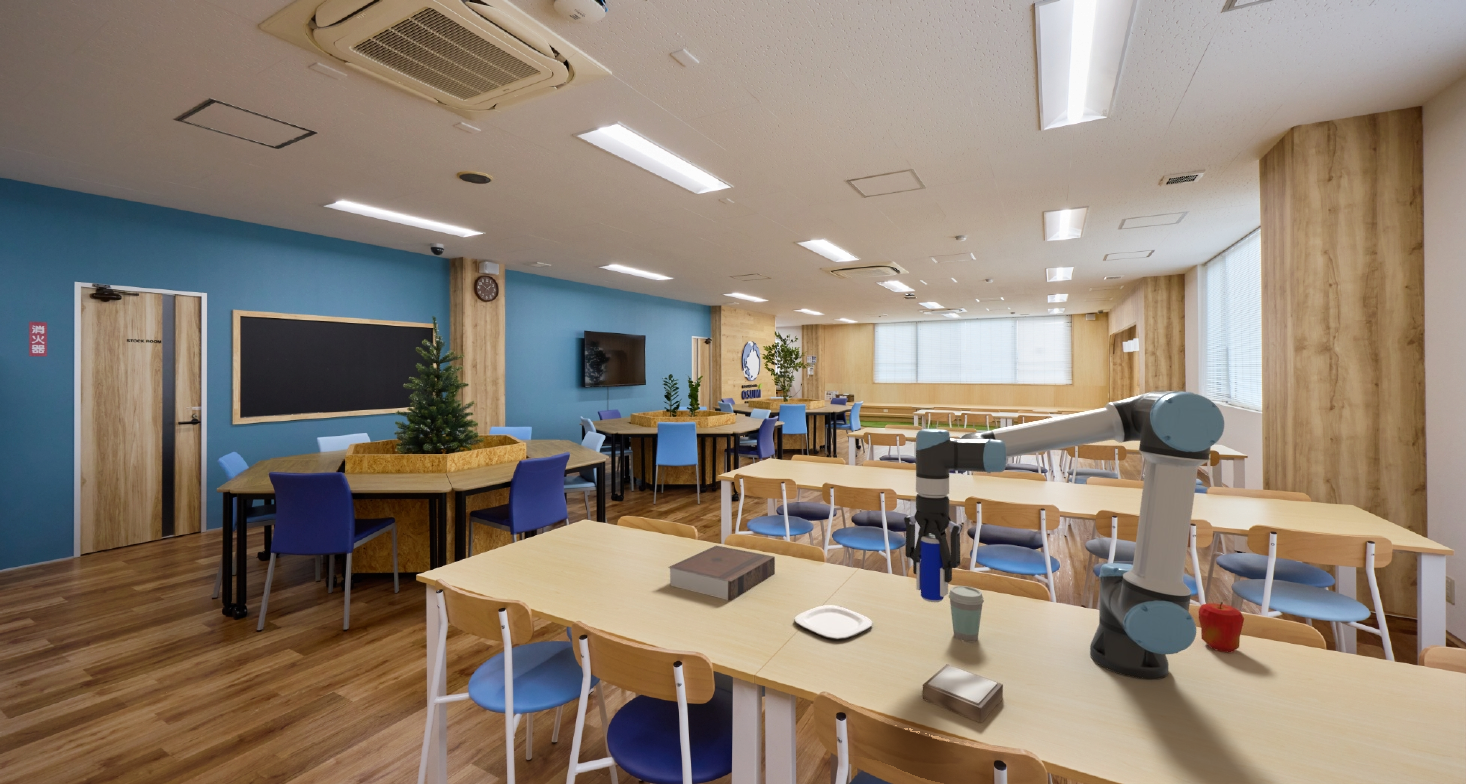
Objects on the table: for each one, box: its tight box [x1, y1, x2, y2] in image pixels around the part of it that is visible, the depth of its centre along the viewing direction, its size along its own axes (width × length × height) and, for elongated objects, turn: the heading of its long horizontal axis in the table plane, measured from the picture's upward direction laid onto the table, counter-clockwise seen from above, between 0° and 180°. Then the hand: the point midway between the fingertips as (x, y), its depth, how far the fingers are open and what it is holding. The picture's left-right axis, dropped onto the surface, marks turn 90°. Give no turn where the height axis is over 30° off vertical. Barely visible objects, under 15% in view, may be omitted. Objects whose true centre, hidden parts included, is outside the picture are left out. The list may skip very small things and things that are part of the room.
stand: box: [921, 664, 1004, 724], centre depth 118 cm, size 12×12×3 cm
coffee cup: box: [948, 585, 985, 643], centre depth 146 cm, size 8×9×12 cm
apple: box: [1198, 601, 1245, 653], centre depth 140 cm, size 9×8×12 cm
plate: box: [793, 604, 874, 640], centre depth 154 cm, size 18×18×2 cm
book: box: [668, 545, 776, 602], centre depth 189 cm, size 24×28×6 cm
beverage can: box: [920, 533, 945, 603], centre depth 134 cm, size 5×5×15 cm
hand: (932, 591), depth 134 cm, fingers closed on beverage can, 5 cm apart
